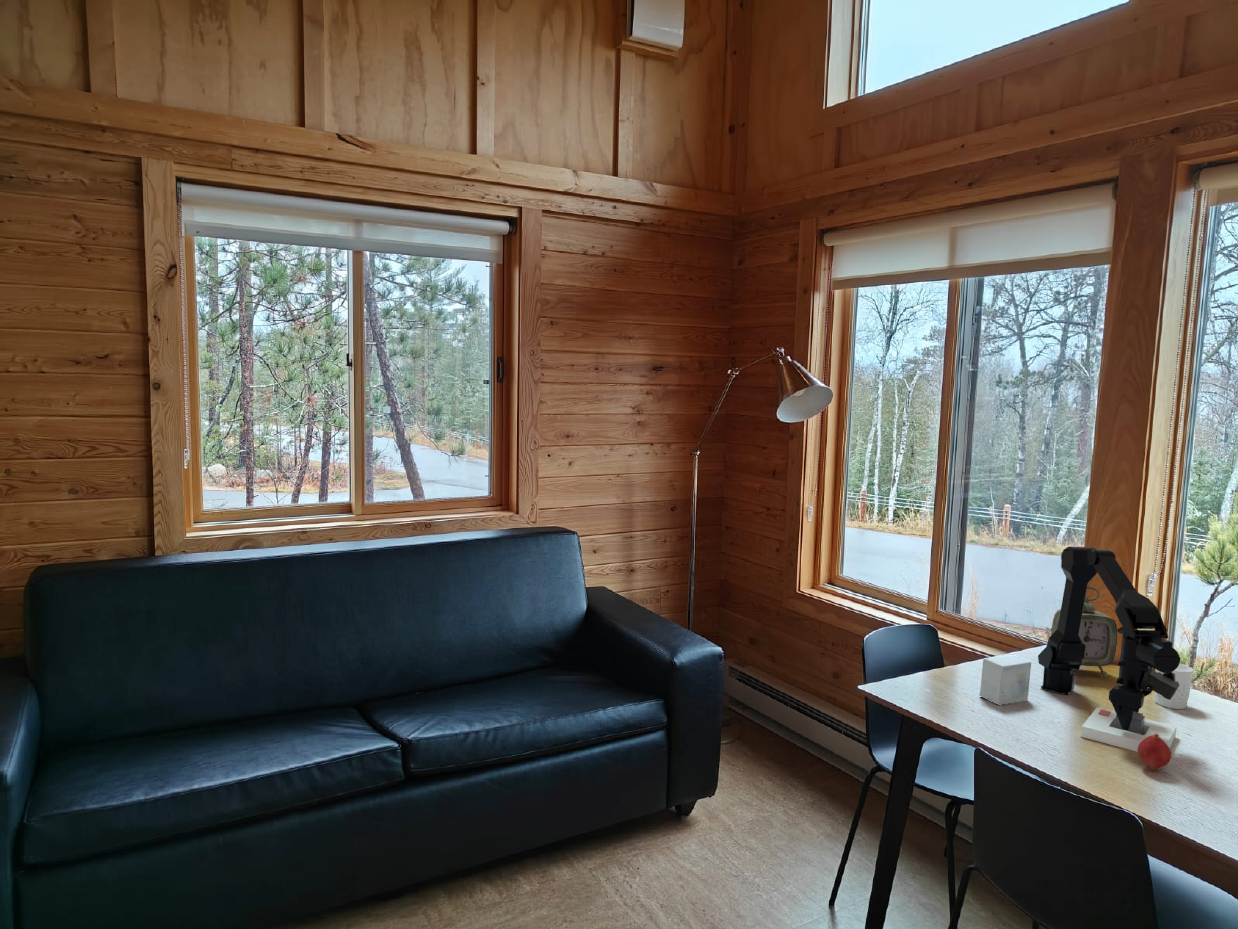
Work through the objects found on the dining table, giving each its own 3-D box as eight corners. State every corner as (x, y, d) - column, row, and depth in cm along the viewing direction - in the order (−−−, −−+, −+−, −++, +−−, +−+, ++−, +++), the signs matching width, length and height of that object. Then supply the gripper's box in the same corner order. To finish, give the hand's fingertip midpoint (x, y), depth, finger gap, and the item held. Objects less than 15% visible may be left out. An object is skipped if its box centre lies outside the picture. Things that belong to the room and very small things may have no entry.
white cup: (1195, 712, 202) (1199, 673, 202) (1160, 708, 204) (1164, 669, 203) (1180, 700, 210) (1184, 662, 209) (1146, 697, 212) (1150, 660, 211)
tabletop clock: (1058, 676, 226) (1065, 588, 224) (1045, 665, 235) (1052, 580, 233) (1113, 680, 224) (1121, 591, 222) (1099, 669, 233) (1106, 583, 231)
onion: (1129, 763, 172) (1132, 727, 171) (1155, 763, 172) (1158, 727, 172) (1149, 776, 166) (1153, 739, 165) (1176, 776, 167) (1179, 738, 166)
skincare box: (999, 706, 202) (1002, 665, 201) (978, 697, 208) (981, 657, 207) (1029, 701, 206) (1032, 661, 206) (1008, 692, 212) (1010, 653, 211)
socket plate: (1080, 736, 185) (1081, 724, 185) (1096, 717, 197) (1097, 706, 197) (1164, 759, 175) (1165, 746, 174) (1175, 737, 187) (1176, 725, 186)
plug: (1114, 733, 186) (1116, 712, 185) (1117, 728, 189) (1119, 707, 188) (1139, 740, 183) (1141, 718, 182) (1143, 735, 186) (1145, 713, 185)
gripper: (1171, 676, 172) (1164, 747, 173) (1184, 657, 186) (1177, 722, 187) (1111, 664, 179) (1105, 732, 181) (1127, 645, 193) (1121, 709, 195)
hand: (1129, 724), depth 186 cm, fingers open, 9 cm apart
